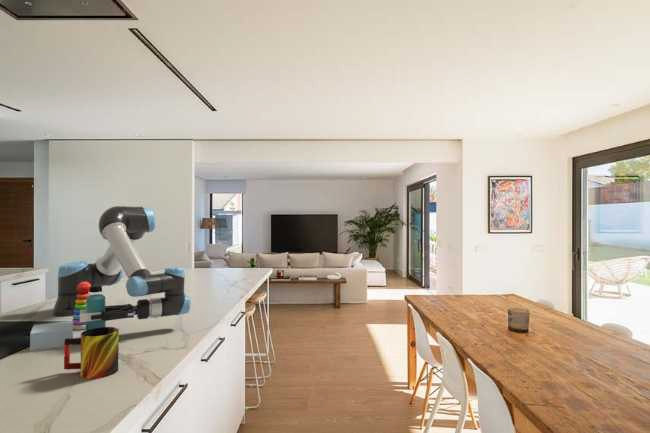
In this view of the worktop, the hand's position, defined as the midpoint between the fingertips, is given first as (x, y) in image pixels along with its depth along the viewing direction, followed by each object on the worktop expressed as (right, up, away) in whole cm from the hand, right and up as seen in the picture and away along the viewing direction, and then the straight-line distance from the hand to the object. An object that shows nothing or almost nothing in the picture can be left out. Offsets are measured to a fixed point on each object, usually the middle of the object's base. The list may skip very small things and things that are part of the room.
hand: (79, 315), depth 143 cm
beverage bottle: (+4, -10, +3) cm, 11 cm away
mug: (+21, -10, -28) cm, 36 cm away
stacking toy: (-10, -10, +18) cm, 23 cm away
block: (-8, -9, -2) cm, 13 cm away
